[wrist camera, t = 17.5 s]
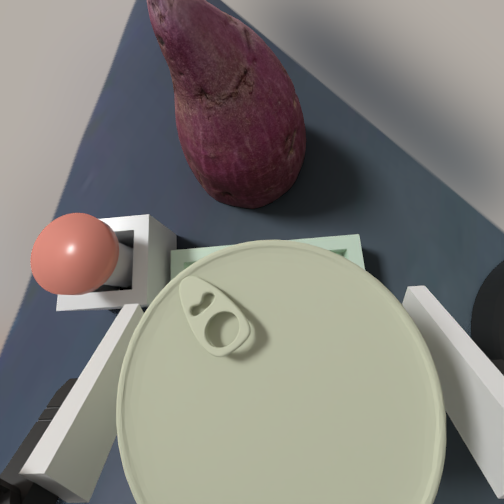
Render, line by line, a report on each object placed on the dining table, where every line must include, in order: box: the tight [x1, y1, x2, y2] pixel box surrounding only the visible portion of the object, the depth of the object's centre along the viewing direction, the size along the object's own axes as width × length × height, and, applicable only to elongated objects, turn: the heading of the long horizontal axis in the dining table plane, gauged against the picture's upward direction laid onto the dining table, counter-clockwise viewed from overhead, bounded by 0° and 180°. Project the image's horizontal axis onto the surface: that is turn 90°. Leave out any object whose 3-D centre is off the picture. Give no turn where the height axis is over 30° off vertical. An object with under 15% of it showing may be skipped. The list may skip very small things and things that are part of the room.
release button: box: [31, 213, 134, 295], centre depth 17 cm, size 5×5×6 cm
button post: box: [56, 214, 177, 311], centre depth 19 cm, size 6×6×5 cm
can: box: [116, 240, 446, 504], centre depth 12 cm, size 9×9×12 cm
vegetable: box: [147, 0, 306, 209], centre depth 17 cm, size 10×10×15 cm
